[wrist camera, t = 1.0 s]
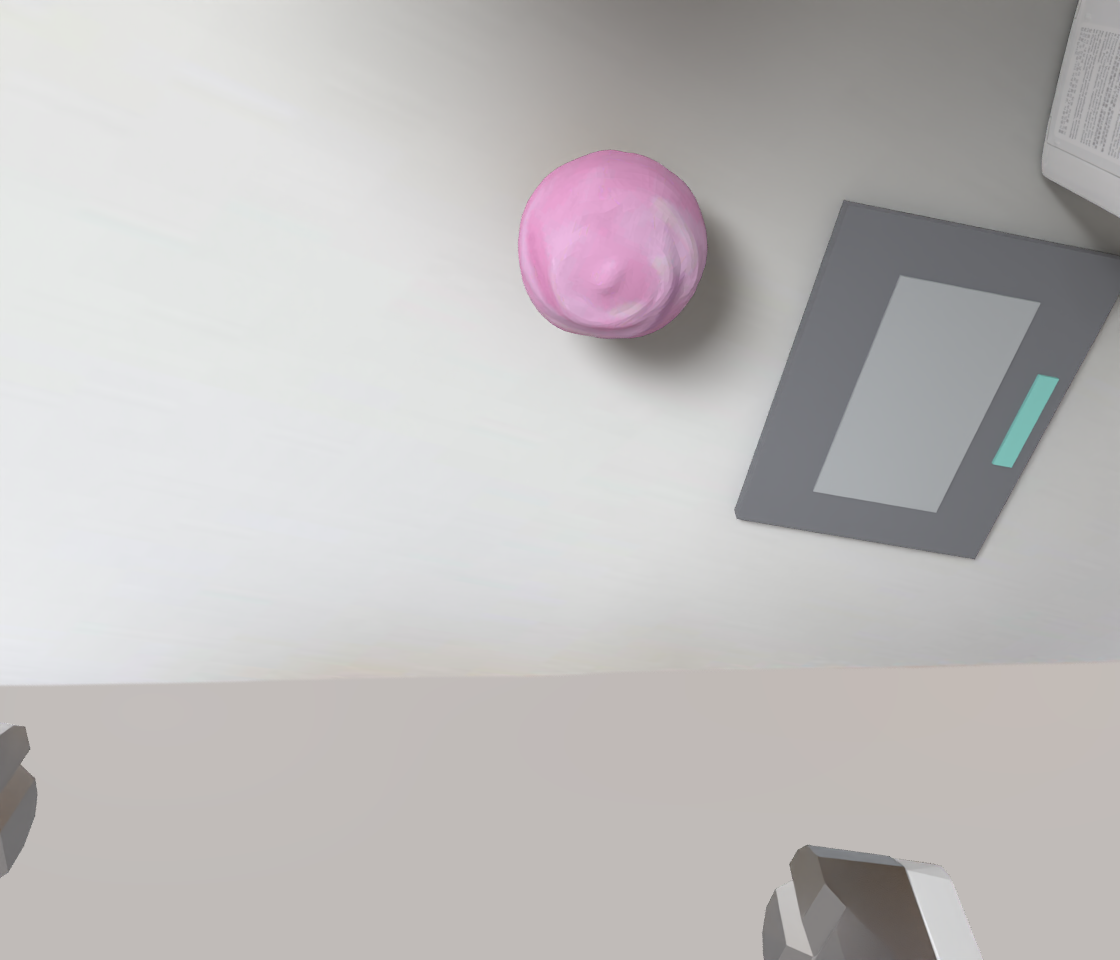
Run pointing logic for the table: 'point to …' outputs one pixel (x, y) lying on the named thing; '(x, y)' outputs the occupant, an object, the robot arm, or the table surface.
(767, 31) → the table surface
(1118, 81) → the photo printer
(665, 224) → the cupcake
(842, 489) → the charging mat
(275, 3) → the table surface
